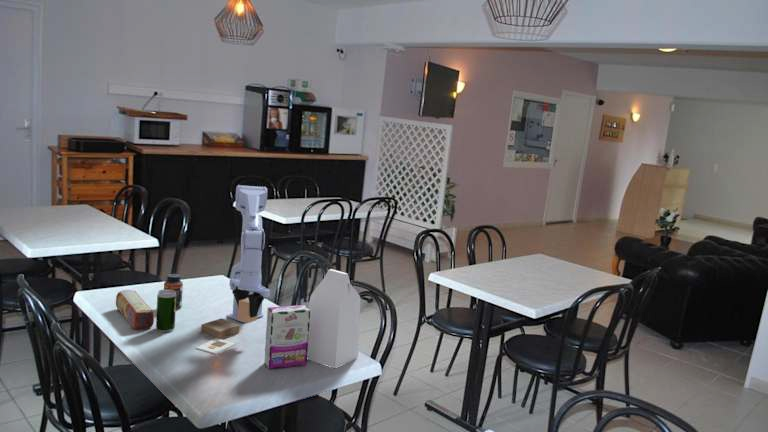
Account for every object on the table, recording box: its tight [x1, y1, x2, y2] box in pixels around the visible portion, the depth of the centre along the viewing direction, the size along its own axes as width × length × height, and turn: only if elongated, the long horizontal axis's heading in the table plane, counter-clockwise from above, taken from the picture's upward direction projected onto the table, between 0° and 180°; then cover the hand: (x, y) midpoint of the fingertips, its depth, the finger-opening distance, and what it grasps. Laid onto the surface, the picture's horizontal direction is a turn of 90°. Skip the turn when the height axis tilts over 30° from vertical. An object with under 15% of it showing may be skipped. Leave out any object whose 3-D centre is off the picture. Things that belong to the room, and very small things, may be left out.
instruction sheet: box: [195, 338, 236, 355], centre depth 177 cm, size 9×7×1 cm
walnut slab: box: [200, 318, 240, 340], centre depth 187 cm, size 8×8×3 cm
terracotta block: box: [237, 298, 258, 324], centre depth 180 cm, size 4×4×6 cm
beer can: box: [155, 288, 176, 333], centre depth 184 cm, size 5×5×12 cm
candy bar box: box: [264, 304, 310, 370], centre depth 169 cm, size 11×5×16 cm, turn 117°
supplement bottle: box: [163, 273, 184, 311], centre depth 203 cm, size 6×6×11 cm
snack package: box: [115, 289, 155, 331], centre depth 191 cm, size 21×7×7 cm, turn 37°
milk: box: [307, 268, 361, 369], centre depth 176 cm, size 12×12×26 cm
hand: (247, 314), depth 180 cm, fingers closed on terracotta block, 4 cm apart
